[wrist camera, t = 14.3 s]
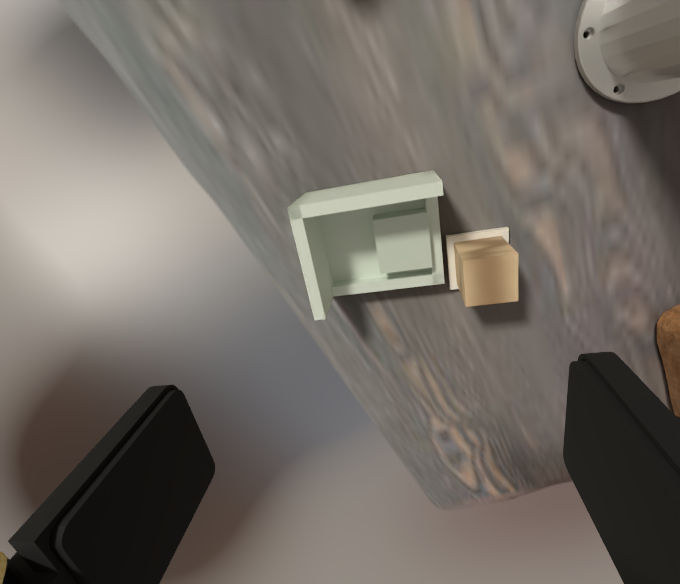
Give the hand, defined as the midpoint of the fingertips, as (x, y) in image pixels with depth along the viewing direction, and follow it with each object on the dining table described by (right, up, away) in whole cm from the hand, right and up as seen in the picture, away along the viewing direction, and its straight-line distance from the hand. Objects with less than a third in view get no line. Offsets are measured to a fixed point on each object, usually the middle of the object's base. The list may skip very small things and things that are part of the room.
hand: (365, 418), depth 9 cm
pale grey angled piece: (+3, +10, +33) cm, 35 cm away
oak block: (+15, +7, +32) cm, 36 cm away
